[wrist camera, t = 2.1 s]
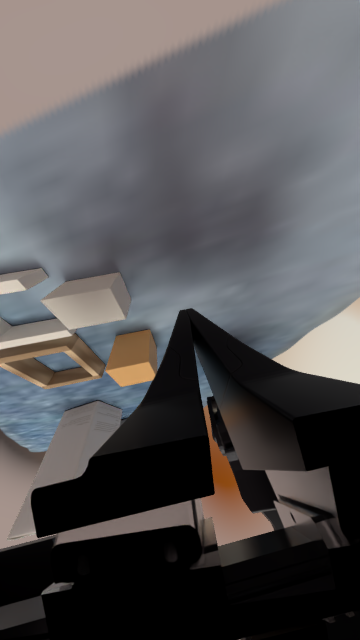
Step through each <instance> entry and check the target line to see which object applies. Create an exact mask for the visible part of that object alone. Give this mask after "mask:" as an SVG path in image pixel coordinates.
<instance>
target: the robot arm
mask: <svg viewBox="0 0 360 640" xmlns="http://www.w3.org/2000/svg"><path fill="white" fill-rule="evenodd" d="M194 347H195V350H196V352H197V355H198V357H199V360H200V362H201V365H202V367H203V370H204V372H205V375H206V377H207V380H208V383H209V385H210V388H211V390H212V393H213V395H214V396H212V397H207V404H208V410H209V414H210V420H211V427H212V436H213V439H214V441H215V442H216V443H217V444H218V447H219V449H220V451H221V452H222V454H223V456H227V458H228V461H229V463H230V466H231V468H232V471H233V473H234V476H235V479H236V482H237V485H238V487H239V491H240V494H241V497H242V499H243V501H244V502H245V503H246V505H247V506H248V508H249V509H250V511H251V512H252V513H258V512H262V513H263V514H264V516H265V517H266V518H267V519H268V520H269V521H270V522H271V524H272V526H273V528H274V531H272V532H268V533H265V534H261V535H258V536H254V537H250V538H247V539H243V540H240V541H236V542H233V543H229V544H225V545H222V546H217V541H216V535H215V530H214V525H213V520H212V517H210V518H206V519H204V515H203V509H202V503H201V498H202V497H206V496H210V495H214V493H215V491H214V483H213V475H212V465H211V456H210V445H209V437H208V432H207V427H206V421H205V416H204V410H203V405H202V400H201V394H200V387H199V380H198V373H197V366H196V358H195V351H194ZM31 509H32V514H33V520H34V525H35V530H36V535H37V537H38V538H41V537H45V536H48V535H53V534H57V535H53V536H50V537H46V538H42V539H38V540H34V541H30V542H26V543H22V544H19V545H15V546H11V547H7V548H3V549H0V640H239V639H241V640H360V384H356V383H351V382H346V381H341V380H336V379H331V378H326V377H321V376H316V375H311V374H306V373H302V372H298V371H295V370H292V369H289V368H287V367H284V366H283V365H281V364H279V363H277V362H275V361H273V360H272V359H270V358H268V357H266V356H265V355H263V354H261V353H259V352H257V351H256V350H254V349H252V348H250V347H249V346H247V345H245V344H244V343H242V342H241V341H239V340H238V339H236V338H234V337H233V336H232V335H230V334H229V333H227V332H226V331H224V330H223V329H221V328H220V327H218V326H217V325H216V324H214V323H213V322H211V321H210V320H208V319H207V318H205V317H204V316H203V315H201V314H200V313H198V312H197V311H195V310H194V309H192V308H190V309H186V310H180V311H179V314H178V317H177V320H176V323H175V326H174V329H173V332H172V335H171V338H170V341H169V344H168V347H167V349H166V352H165V355H164V358H163V360H162V362H161V365H160V367H159V369H158V371H157V373H156V375H155V377H154V379H153V381H152V383H151V385H150V387H149V389H148V391H147V393H146V395H145V397H144V398H143V400H142V402H141V403H140V405H139V406H138V407H137V408H136V410H135V411H134V412H133V413H132V414H131V415H130V416H129V417H128V418H127V419H126V420H125V421H124V423H123V424H122V425H121V426H120V427H119V428H118V429H117V430H116V431H115V432H114V433H113V434H112V435H111V437H110V438H109V439H108V440H107V441H106V442H105V443H104V444H103V445H102V446H101V447H100V448H99V449H98V450H97V452H96V453H95V454H94V455H93V456H92V457H91V458H90V459H89V461H88V466H87V468H86V470H85V472H84V473H83V474H82V475H81V476H80V477H78V478H76V479H72V480H68V481H63V482H59V483H55V484H51V485H47V486H43V487H39V488H36V489H34V490H33V491H32V493H31Z"/></svg>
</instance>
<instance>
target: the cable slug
mask: <svg viewBox="0 0 360 640" xmlns="http://www.w3.org/2000/svg"><path fill="white" fill-rule="evenodd" d="M40 301H41V302H42V303H43V304H44V305H45V306H46V307H47V308H48V309H49V310H50V311H51V312H52V313H53V314H54V315H55V316H56V317H57V318H58V319H59V320H60V321H61V322H62V323H63V324H64V325H65V326H66V327H67V328H68V329H69V330H70V329H76V328H81V327H86V326H92V325H97V324H102V323H108V322H113V321H118V320H124V319H126V317H127V314H128V310H129V306H130V303H131V298H130V295H129V293H128V291H127V288H126V286H125V284H124V281H123V279H122V277H121V274H120V272H118V273H112V274H107V275H101V276H95V277H90V278H84V279H78V280H72V281H67V282H64V283H63V284H62V285H60V286H59V287H58V288H56V289H55V290H54V291H52V292H51V293H50V294H48V295H47V296H46V297H44V298H43V299H42V300H40Z"/></svg>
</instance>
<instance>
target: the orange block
mask: <svg viewBox="0 0 360 640" xmlns="http://www.w3.org/2000/svg"><path fill="white" fill-rule="evenodd" d="M105 371H106V372H107V373H108V374H109V375H110V376H111V377H112V378H113V379H114V380H115V381H116V382H117V383H118V384H119V385H120V386H121V387H123V386H127V385H132V384H137V383H142V382H146V381H151V380H153V379H154V377H155V375H156V373H157V347H156V344H155V342H154V339H153V336H152V334H151V331H150V329H149V330H144V331H139V332H134V333H129V334H123V335H118V336H116V338H115V341H114V344H113V348H112V351H111V354H110V357H109V360H108V364H107V367H106V370H105Z"/></svg>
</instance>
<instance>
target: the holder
mask: <svg viewBox="0 0 360 640" xmlns="http://www.w3.org/2000/svg"><path fill="white" fill-rule="evenodd" d="M59 352H65V353H66V354H67V355H69V356H70V357H71V358H72V359H73V360H75V361H76V362H77V363H78V364H79V365H81V366H82V367H80V368H75V369H70V370H65V371H60V372H54V371H52V370H51V369H49V368H48V367H46V366H45V365H43V364H41V363H40V362H38V361H37V360H35V359H34V358H33V357H38V356H43V355H49V354H54V353H59ZM105 366H106V365H105V364H104V363H103V362H102V361H101V360H100V359H99V358H98V357H97V356H96V355H95V354H94V353H93V351H92V350H91V349H90V348H89V347H88V346H87V345H86V344H85V343H84V342H83V341H82V340H81V339H80V338H79V337H78V336H77V335H76V333H74V334H73V336H69V337H63V338H58V339H53V340H47V341H42V342H37V343H31V344H26V345H21V346H16V347H10V348H5V349H1V350H0V367H2V368H4V369H6V370H8V371H10V372H12V373H14V374H16V375H18V376H20V377H22V378H24V379H26V380H28V381H30V382H32V383H34V384H36V385H38V386H40V387H42V388H44V389H49V388H54V387H59V386H64V385H69V384H73V383H78V382H83V381H88V380H93V379H98V378H102V375H103V372H104V369H105Z"/></svg>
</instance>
